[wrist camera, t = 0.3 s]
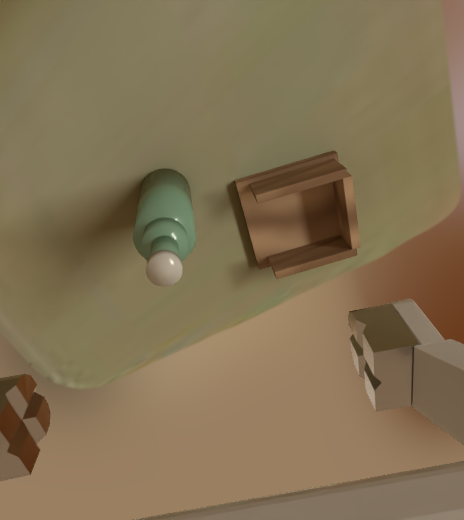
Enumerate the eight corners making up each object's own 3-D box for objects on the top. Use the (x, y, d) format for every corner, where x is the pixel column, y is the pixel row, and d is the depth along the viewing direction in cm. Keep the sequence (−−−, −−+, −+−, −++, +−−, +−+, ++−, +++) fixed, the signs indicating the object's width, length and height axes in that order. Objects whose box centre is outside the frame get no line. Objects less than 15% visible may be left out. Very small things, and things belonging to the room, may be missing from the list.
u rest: (234, 180, 49) (241, 195, 45) (334, 150, 49) (350, 162, 44) (257, 265, 55) (265, 286, 51) (346, 239, 55) (361, 257, 50)
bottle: (133, 176, 47) (116, 251, 32) (181, 162, 47) (187, 230, 32) (151, 220, 50) (143, 309, 34) (196, 207, 50) (208, 289, 34)
